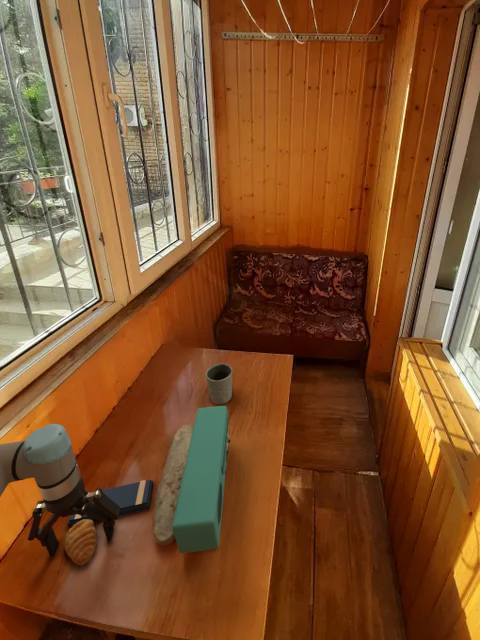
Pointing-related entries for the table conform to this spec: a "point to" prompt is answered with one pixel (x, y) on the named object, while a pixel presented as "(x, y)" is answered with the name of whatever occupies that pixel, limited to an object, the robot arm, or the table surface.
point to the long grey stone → (171, 485)
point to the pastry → (81, 541)
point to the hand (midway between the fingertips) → (83, 542)
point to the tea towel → (124, 499)
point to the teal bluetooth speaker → (203, 483)
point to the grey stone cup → (220, 383)
